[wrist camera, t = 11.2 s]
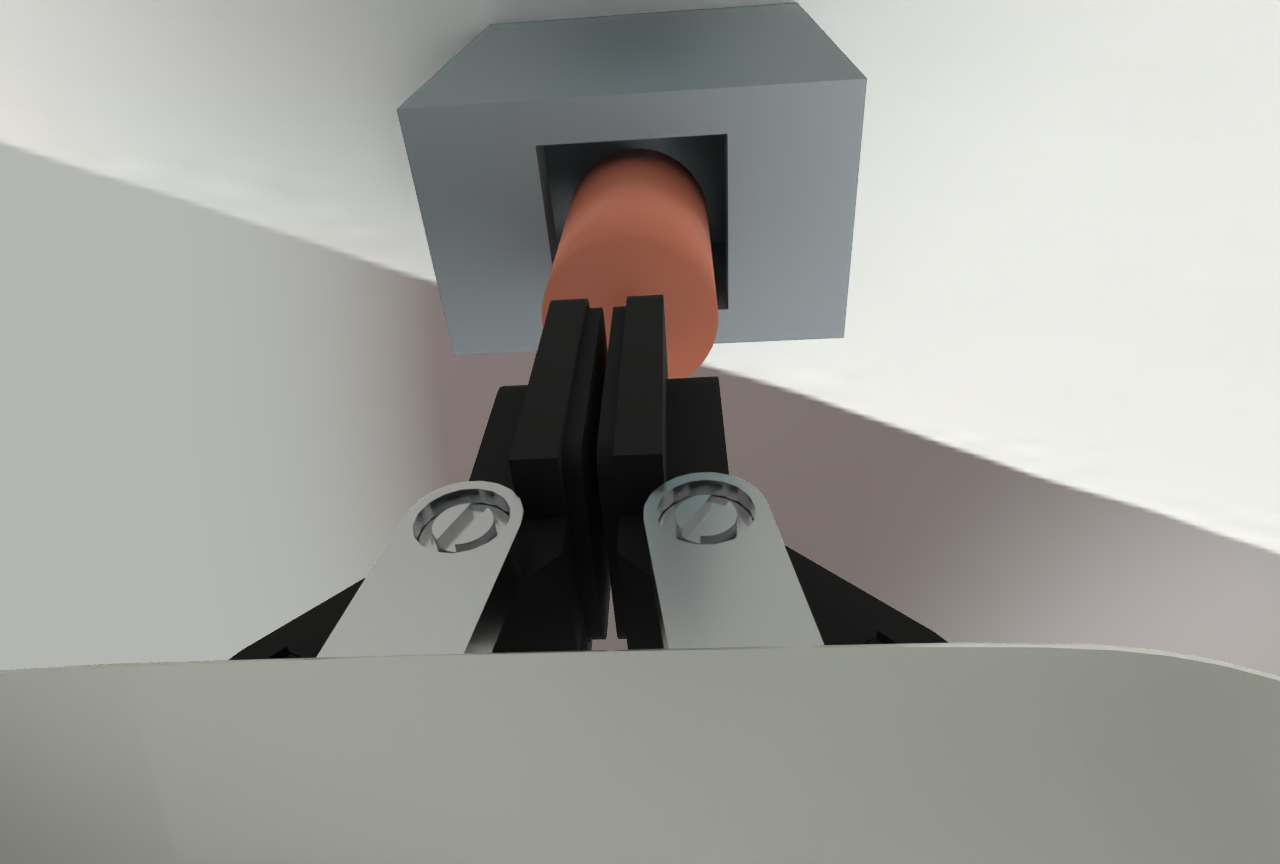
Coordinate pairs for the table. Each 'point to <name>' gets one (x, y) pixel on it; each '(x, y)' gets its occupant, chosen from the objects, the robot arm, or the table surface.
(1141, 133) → the table surface
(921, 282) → the table surface
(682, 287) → the plunger
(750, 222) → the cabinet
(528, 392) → the robot arm
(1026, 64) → the table surface
